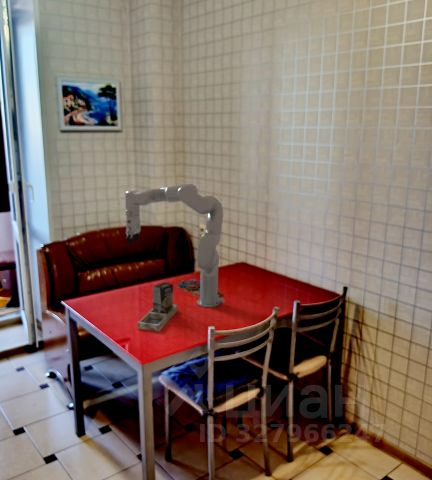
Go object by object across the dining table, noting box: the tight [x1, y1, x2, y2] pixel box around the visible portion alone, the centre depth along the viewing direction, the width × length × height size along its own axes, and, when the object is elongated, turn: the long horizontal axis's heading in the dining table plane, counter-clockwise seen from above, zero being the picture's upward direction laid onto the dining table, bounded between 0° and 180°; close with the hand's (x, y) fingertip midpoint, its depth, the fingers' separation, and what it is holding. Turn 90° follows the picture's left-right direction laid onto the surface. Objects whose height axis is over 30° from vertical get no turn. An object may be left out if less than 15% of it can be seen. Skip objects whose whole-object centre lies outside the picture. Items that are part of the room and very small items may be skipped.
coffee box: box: [152, 281, 174, 314], centre depth 237 cm, size 9×6×16 cm
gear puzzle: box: [176, 278, 223, 297], centre depth 275 cm, size 31×16×4 cm, turn 44°
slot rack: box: [137, 304, 179, 332], centre depth 233 cm, size 11×27×3 cm, turn 166°
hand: (133, 242), depth 258 cm, fingers open, 9 cm apart
